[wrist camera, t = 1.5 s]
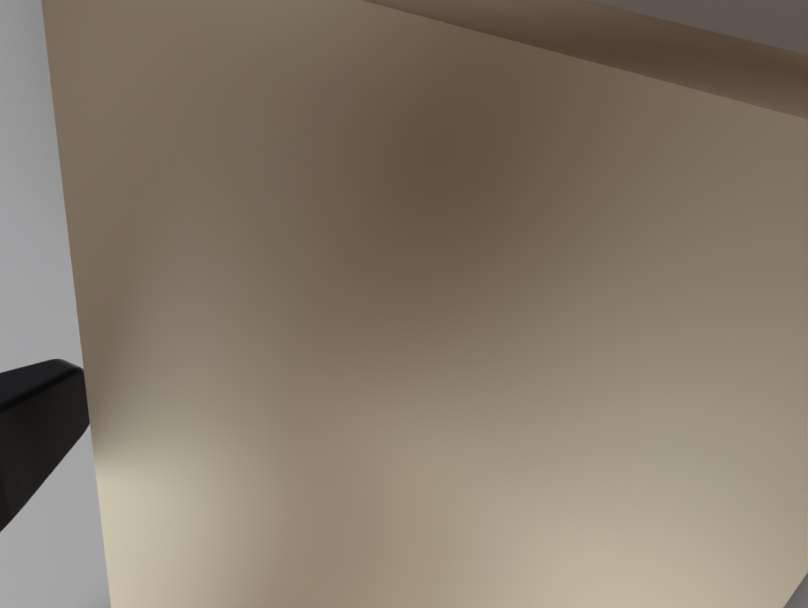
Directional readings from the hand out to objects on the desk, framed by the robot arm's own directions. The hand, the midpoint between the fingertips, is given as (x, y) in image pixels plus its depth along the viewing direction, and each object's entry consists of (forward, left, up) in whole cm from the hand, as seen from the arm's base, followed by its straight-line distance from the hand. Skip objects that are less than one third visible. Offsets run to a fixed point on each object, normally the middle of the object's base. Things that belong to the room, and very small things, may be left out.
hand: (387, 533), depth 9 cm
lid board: (0, 0, -1) cm, 1 cm away
